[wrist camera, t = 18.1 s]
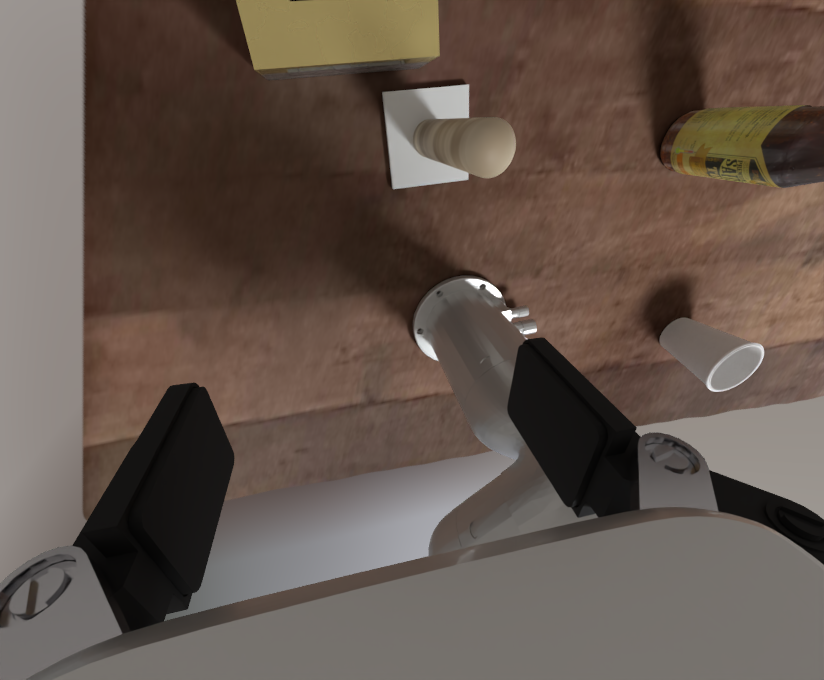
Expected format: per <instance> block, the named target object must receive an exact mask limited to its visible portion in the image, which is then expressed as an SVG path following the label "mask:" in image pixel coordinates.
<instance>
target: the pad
mask: <svg viewBox="0 0 824 680" xmlns="http://www.w3.org/2000/svg"><path fill="white" fill-rule="evenodd" d="M382 97H383V106H384V116H385V125H386V135H387V144H388V154H389V163H390V173H391V182H392V189H399V188H407V187H415V186H422V185H430V184H438V183H446V182H454V181H462V180H468V172H465V171H462V170H459V169H456V168H454V167H451V166H448V165H445V164H443V163H440V162H437V161H434V160H431V159H429V158H426V157H423V156H421V155H420V154H419V153H418V152H417V151H416V149H415V147H414V143H413V135H414V131H415V129H416V127H417V126H418V124H420V123H421V122H422V121H424V120H427V119H452V118H469V85H458V86H447V87H435V88H424V89H412V90H401V91H390V92H382Z"/></svg>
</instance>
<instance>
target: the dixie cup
mask: <svg viewBox="0 0 824 680" xmlns="http://www.w3.org/2000/svg"><path fill="white" fill-rule="evenodd" d="M659 342H660V345H661V346H662V347H664V348H665V349H666V350H667V351H668V352H669V353H670V354H672V355H673V356H674V357H675V358H676V359H677V360H678V361H680V362H681V363H682V364H683V365H684V366H685V367H686V368H688V369H689V370H690V371H691V372H692V373H693V374H694V375H696V376H697V377H698V378H699V379H700V380H701V381H702V382H704V383H705V384H706V386H707V388H708V389H709V390H711V391H715V392H719V391H725V390H728V389H731V388H733V387H735V386H737V385H739V384H740V383H742V382H743V381H745V380H746V379H747V378H748V377H749V376H751V375H752V374H753V373H754V372H755V370H756V369H757V368H758V367H759V365H760V363H761V362H762V360H763V357H764V349H763V347H762V345H760V344H759V343H755V342H749V341H747V340H744V339H741V338H739V337H736V336H734V335H731V334H728V333H726V332H723V331H720V330H718V329H715V328H713V327H710V326H707V325H705V324H702V323H700V322H697V321H694V320H692V319H689V318H685V317H684V318H679V319H677V320H675V321H673V322H671V323H670V324H669V325H668V326H667V327H666V328H665V329H664V330H663V332H662V333H661V336H660V339H659Z"/></svg>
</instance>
